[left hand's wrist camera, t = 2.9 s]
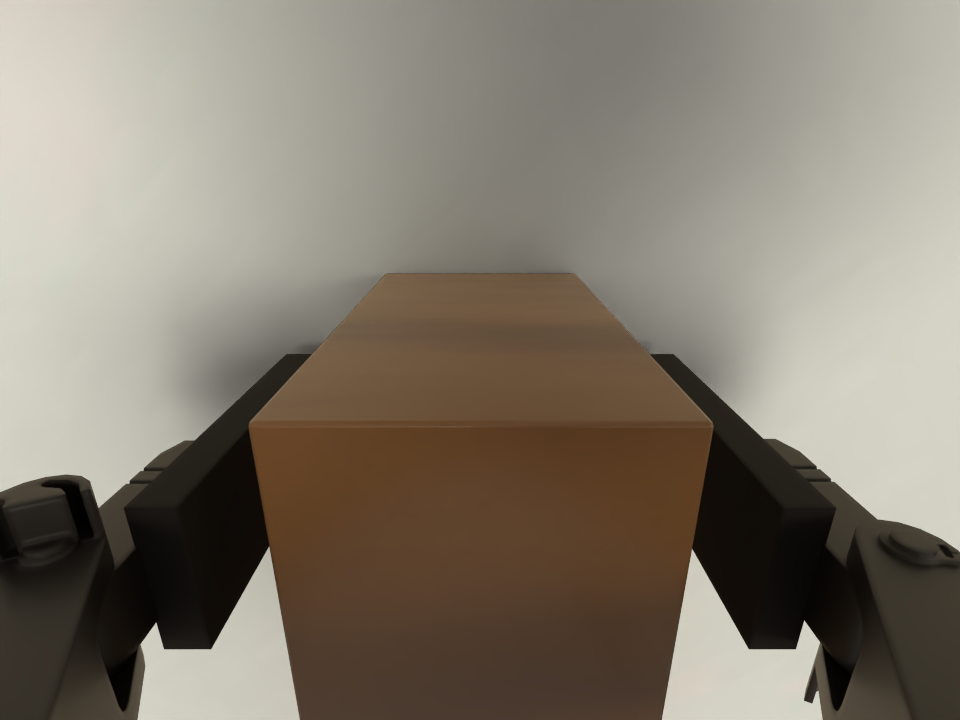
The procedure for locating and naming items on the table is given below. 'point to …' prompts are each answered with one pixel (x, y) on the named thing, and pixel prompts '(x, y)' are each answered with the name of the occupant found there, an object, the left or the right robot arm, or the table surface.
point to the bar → (480, 506)
